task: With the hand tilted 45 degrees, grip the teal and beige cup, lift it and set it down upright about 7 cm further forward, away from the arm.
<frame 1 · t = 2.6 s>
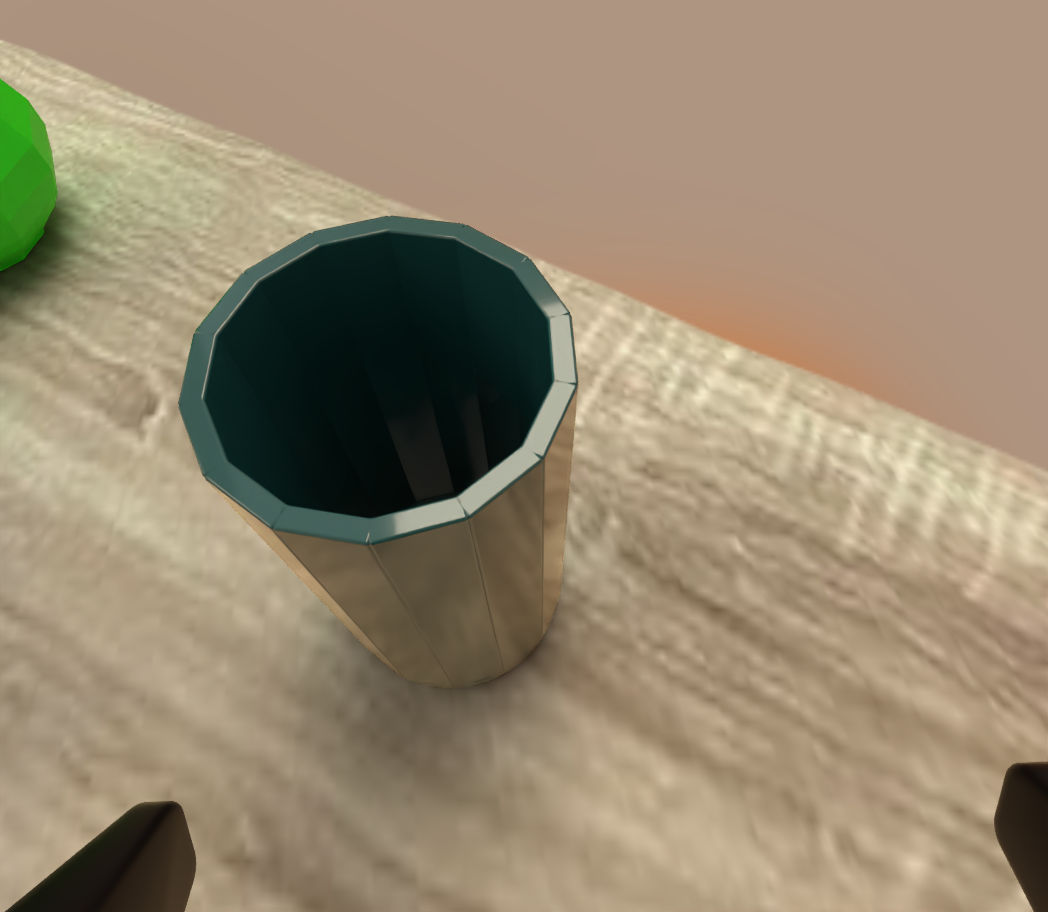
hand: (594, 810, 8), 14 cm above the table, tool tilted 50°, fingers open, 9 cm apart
teal and beige cup: (456, 582, 23), on the table
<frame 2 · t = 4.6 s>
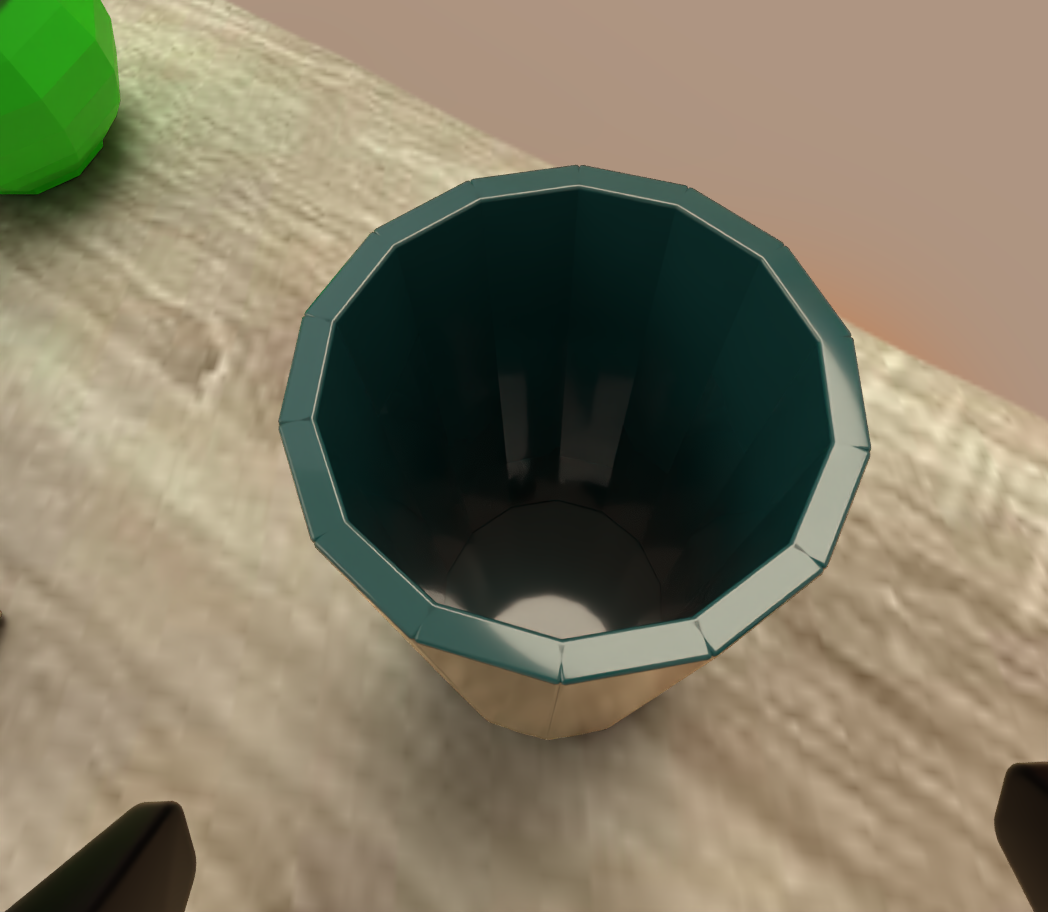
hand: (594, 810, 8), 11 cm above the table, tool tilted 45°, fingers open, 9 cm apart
teal and beige cup: (552, 608, 20), on the table
plastic bottle: (40, 150, 28), on the table
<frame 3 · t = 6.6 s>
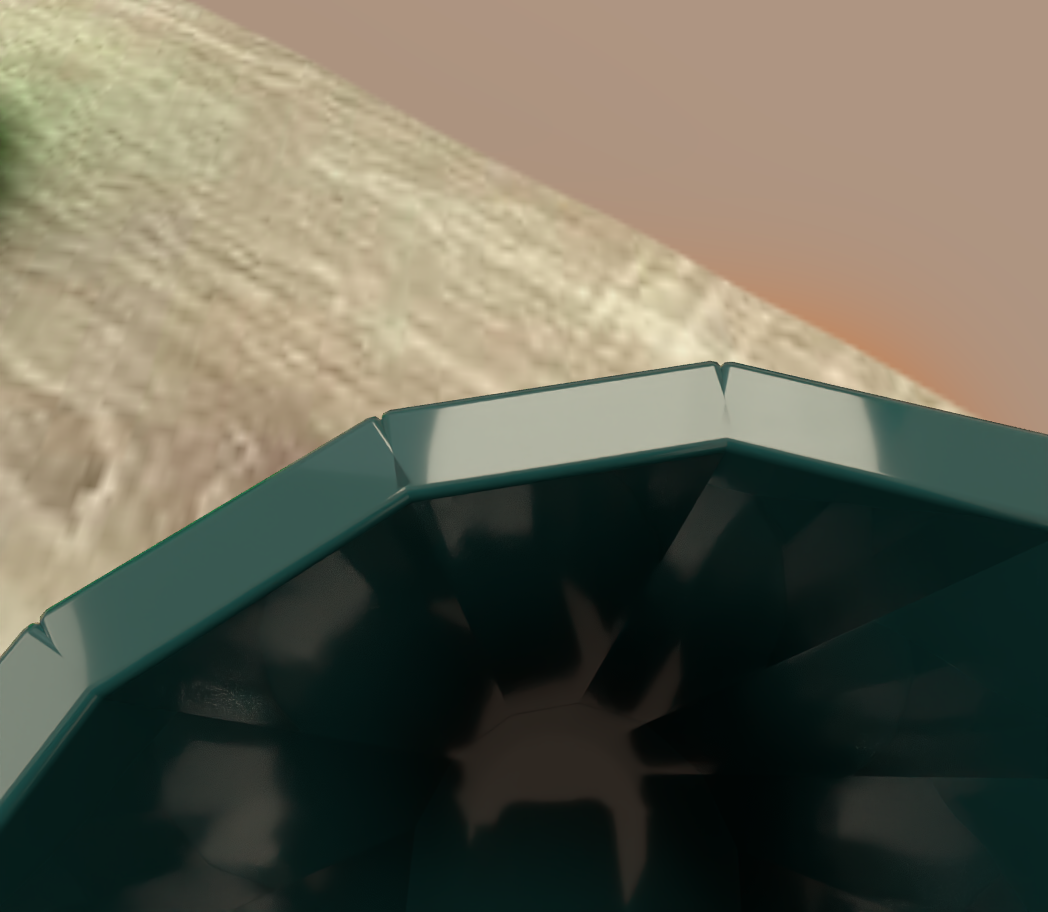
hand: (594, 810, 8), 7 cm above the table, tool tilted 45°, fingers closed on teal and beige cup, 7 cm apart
teal and beige cup: (572, 876, 13), on the table, touching gripper
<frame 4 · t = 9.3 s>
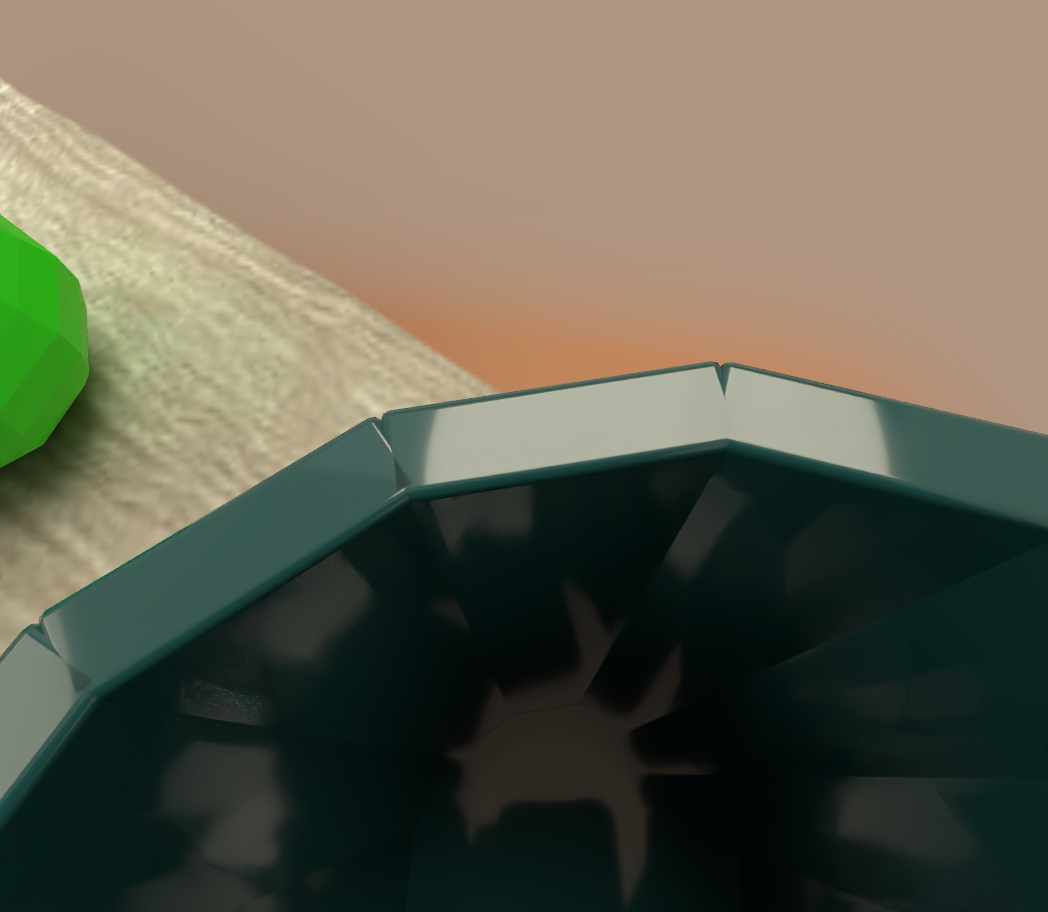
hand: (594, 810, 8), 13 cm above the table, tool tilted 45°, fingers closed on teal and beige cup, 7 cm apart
teal and beige cup: (572, 876, 13), point 7 cm above the table, touching gripper
plastic bottle: (4, 404, 25), on the table
when the fingers open (7 cm above the table, at t = 12.0 s): teal and beige cup stays where it is, on the table.
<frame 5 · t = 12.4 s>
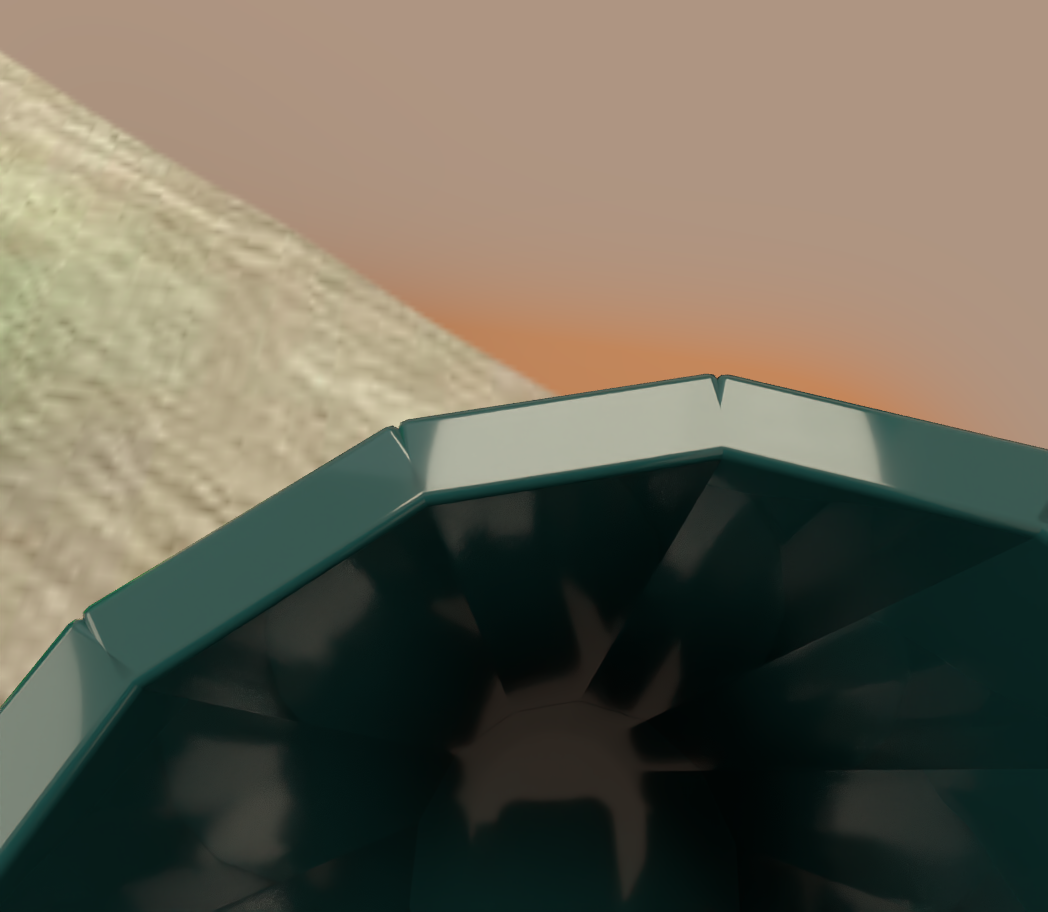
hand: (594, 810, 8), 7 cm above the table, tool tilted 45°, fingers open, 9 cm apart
teal and beige cup: (573, 870, 13), on the table
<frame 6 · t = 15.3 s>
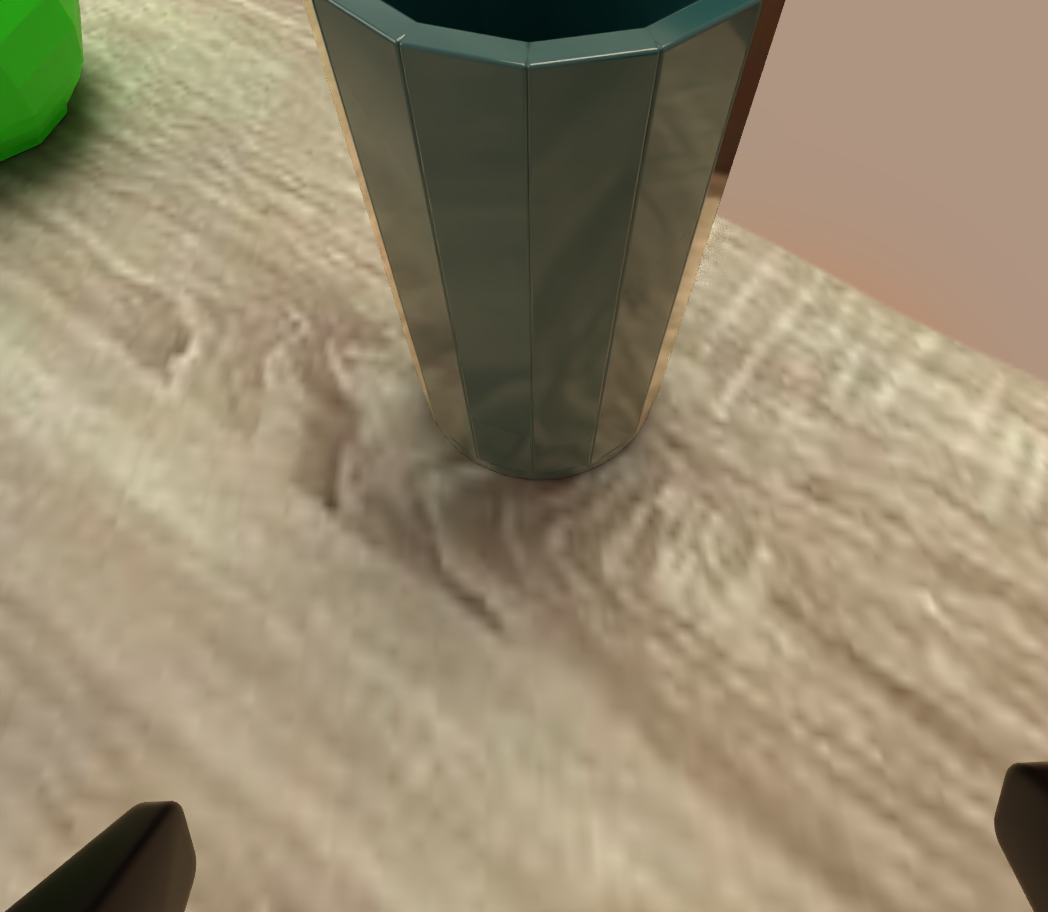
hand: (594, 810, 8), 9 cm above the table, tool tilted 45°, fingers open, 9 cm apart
teal and beige cup: (539, 373, 21), on the table
plastic bottle: (0, 117, 26), on the table
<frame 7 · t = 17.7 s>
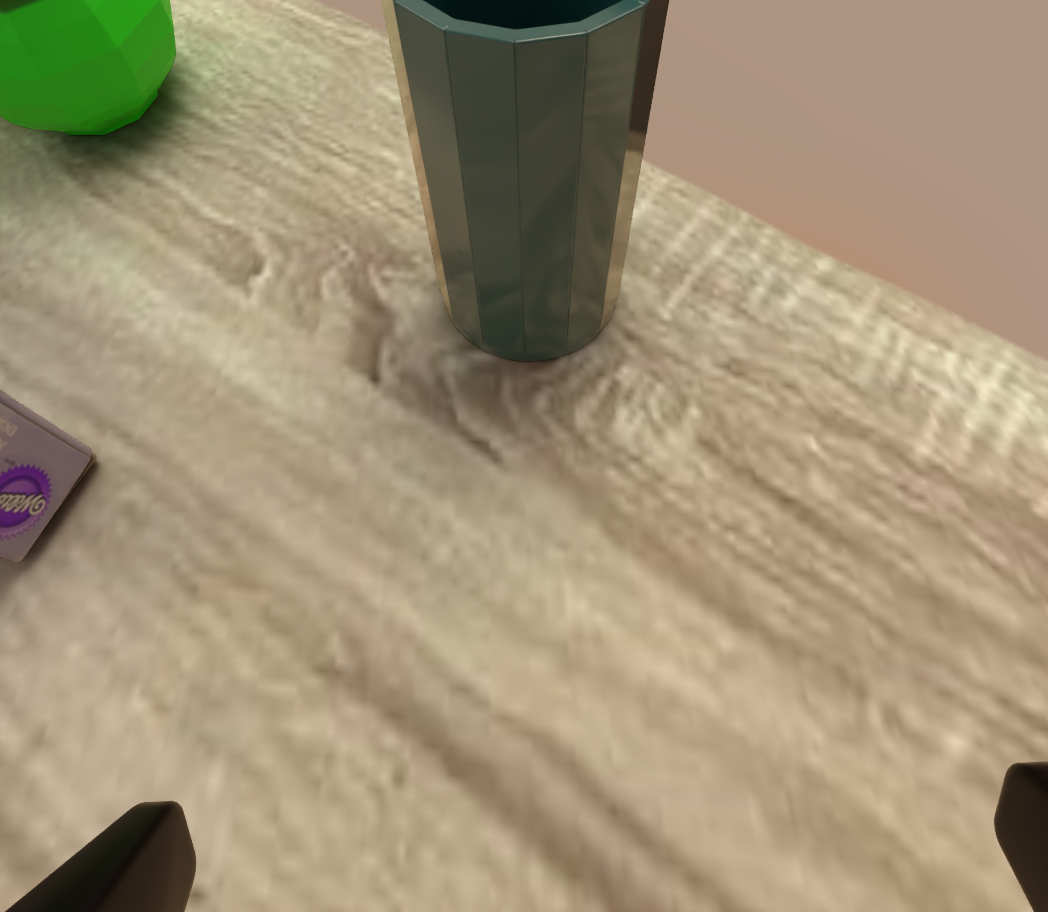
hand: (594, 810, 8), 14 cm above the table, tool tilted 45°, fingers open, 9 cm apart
teal and beige cup: (529, 287, 27), on the table
plastic bottle: (104, 99, 32), on the table
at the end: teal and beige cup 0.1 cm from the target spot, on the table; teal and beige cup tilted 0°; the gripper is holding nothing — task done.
